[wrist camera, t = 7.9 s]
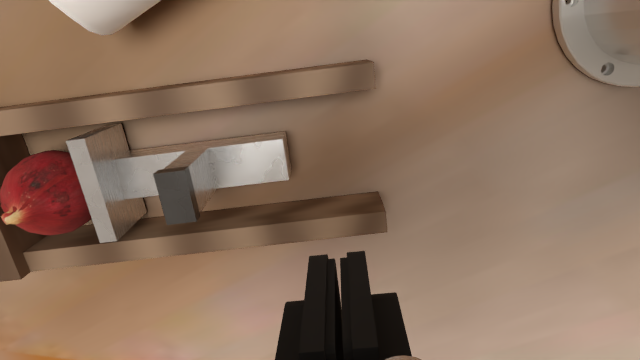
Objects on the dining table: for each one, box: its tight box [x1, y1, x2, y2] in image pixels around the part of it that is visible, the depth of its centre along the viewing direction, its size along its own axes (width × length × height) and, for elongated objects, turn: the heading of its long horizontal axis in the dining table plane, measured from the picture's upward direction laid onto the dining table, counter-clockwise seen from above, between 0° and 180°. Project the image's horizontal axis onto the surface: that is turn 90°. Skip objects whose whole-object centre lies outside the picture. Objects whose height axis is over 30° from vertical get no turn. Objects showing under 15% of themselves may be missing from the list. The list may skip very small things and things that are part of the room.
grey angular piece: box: [66, 124, 291, 243], centre depth 27 cm, size 13×7×8 cm, turn 97°
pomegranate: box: [0, 150, 91, 236], centre depth 28 cm, size 6×6×8 cm
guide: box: [0, 60, 387, 282], centre depth 29 cm, size 28×12×5 cm, turn 97°
